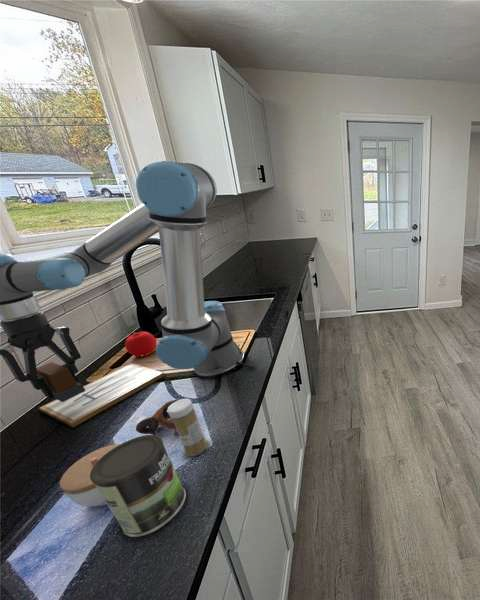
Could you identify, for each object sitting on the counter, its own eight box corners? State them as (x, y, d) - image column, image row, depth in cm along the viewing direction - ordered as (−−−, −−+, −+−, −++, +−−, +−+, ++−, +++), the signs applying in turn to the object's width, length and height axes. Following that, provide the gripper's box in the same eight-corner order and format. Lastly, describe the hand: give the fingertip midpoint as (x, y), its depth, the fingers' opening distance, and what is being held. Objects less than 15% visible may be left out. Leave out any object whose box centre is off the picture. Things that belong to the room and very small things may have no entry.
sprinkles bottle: (181, 454, 73) (161, 409, 68) (199, 439, 77) (182, 395, 72) (195, 459, 72) (175, 413, 67) (212, 444, 76) (195, 400, 71)
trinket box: (105, 522, 60) (83, 488, 56) (63, 512, 62) (39, 479, 58) (156, 472, 69) (140, 440, 66) (118, 466, 71) (100, 435, 68)
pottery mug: (185, 410, 88) (189, 391, 85) (197, 437, 84) (202, 418, 81) (130, 427, 79) (133, 407, 75) (141, 459, 75) (144, 438, 71)
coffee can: (194, 480, 67) (172, 429, 62) (172, 529, 58) (144, 475, 52) (140, 491, 65) (113, 440, 60) (109, 544, 56) (73, 489, 50)
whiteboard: (164, 376, 104) (163, 372, 104) (73, 427, 84) (70, 423, 83) (132, 366, 111) (131, 362, 110) (41, 411, 91) (38, 407, 90)
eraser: (85, 390, 88) (73, 367, 85) (62, 402, 84) (48, 377, 81) (65, 383, 93) (53, 360, 90) (43, 393, 88) (28, 369, 85)
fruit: (128, 355, 119) (117, 331, 115) (156, 345, 125) (147, 322, 121) (133, 363, 113) (122, 339, 109) (163, 352, 119) (153, 329, 115)
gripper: (59, 300, 88) (94, 369, 97) (-41, 329, 73) (11, 408, 82) (73, 303, 85) (108, 374, 94) (-28, 334, 70) (24, 415, 79)
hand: (63, 390), depth 88 cm, fingers closed on eraser, 5 cm apart
